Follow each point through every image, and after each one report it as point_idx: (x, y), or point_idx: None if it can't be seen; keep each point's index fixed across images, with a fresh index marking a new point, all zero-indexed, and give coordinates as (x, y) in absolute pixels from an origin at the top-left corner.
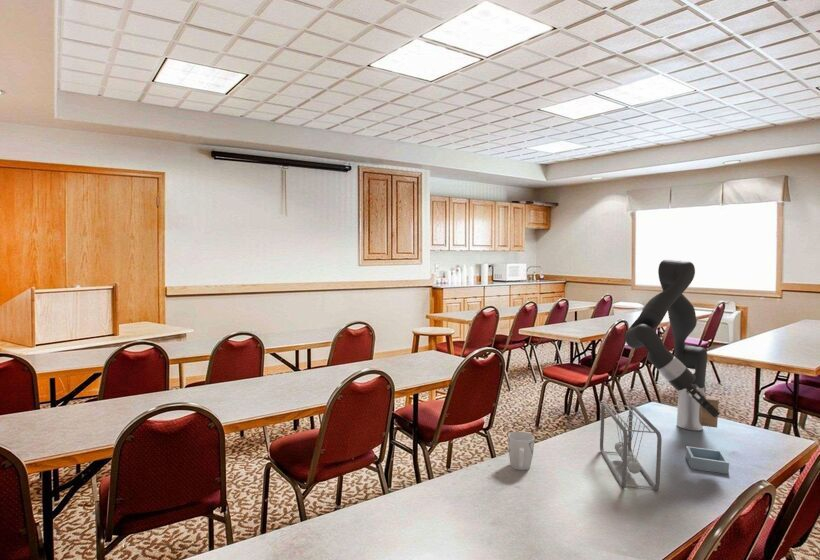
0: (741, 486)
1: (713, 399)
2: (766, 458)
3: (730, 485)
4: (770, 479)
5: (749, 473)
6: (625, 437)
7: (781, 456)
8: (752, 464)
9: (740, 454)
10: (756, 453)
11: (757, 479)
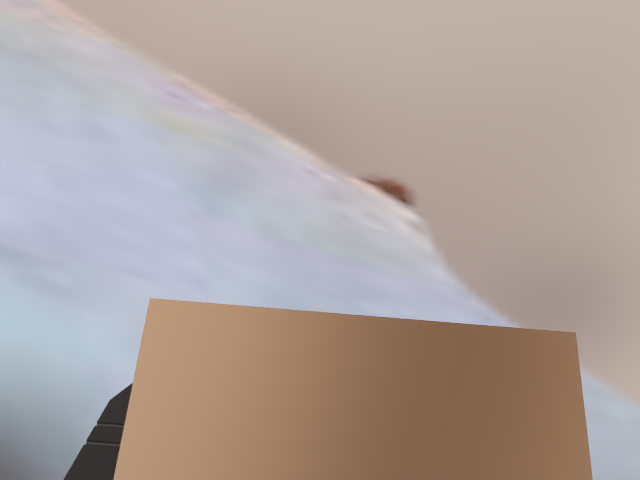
0: (591, 379)
1: (524, 461)
2: (78, 105)
3: (612, 444)
4: (403, 190)
5: (357, 270)
6: None
7: (29, 27)
8: (199, 207)
9: (37, 221)
10: (2, 128)
11: (434, 256)
